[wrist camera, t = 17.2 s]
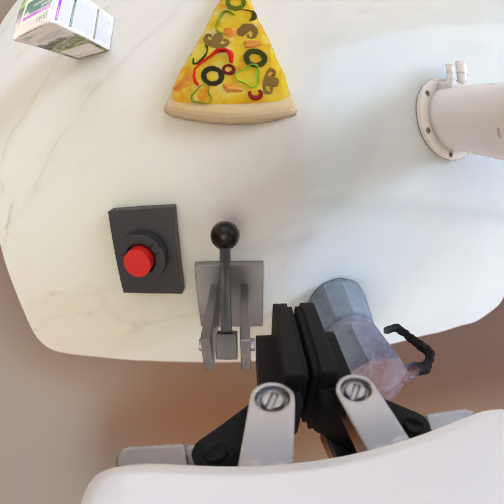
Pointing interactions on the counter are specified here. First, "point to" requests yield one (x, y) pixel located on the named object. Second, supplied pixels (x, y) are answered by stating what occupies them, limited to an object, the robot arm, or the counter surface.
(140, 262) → the button
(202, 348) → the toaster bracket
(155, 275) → the control block
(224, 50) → the pizza slice
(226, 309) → the lever
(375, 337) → the moka pot
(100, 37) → the syrup box
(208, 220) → the counter surface
